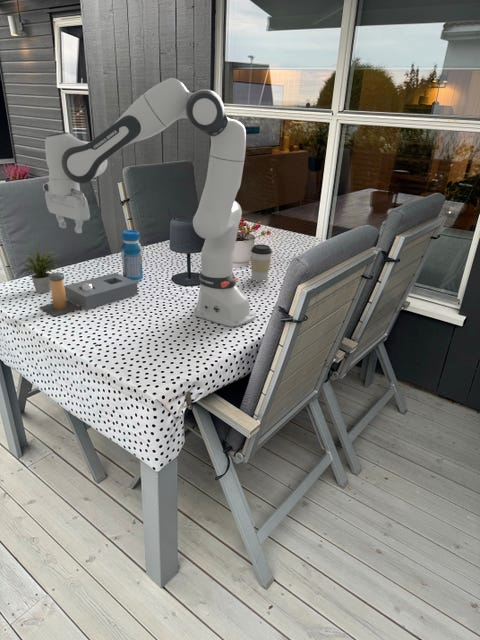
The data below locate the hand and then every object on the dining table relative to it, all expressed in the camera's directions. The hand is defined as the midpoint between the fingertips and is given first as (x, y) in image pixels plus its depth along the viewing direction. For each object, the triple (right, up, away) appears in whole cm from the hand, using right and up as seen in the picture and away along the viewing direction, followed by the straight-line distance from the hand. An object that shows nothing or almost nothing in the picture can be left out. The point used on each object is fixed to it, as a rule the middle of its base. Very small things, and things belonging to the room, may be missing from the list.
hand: (70, 230), depth 149 cm
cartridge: (-7, -25, +8) cm, 28 cm away
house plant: (-18, -19, +21) cm, 34 cm away
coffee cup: (+65, -12, +47) cm, 81 cm away
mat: (-7, -26, +9) cm, 28 cm away
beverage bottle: (+11, -13, +39) cm, 43 cm away
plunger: (0, -22, +16) cm, 27 cm away
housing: (+4, -21, +20) cm, 29 cm away
